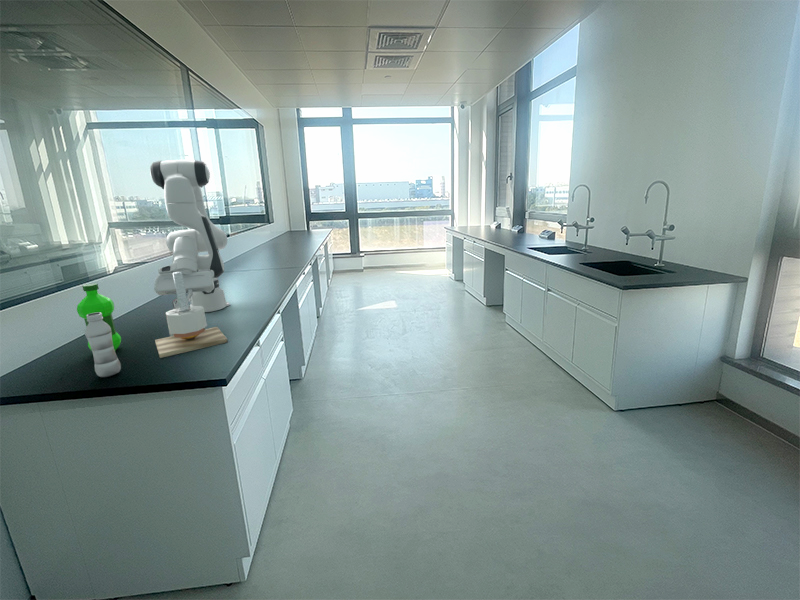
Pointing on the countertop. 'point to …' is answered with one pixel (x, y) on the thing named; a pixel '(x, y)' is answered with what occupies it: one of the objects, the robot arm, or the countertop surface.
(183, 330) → the sleeve
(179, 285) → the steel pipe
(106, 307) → the plastic bottle
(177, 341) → the oak base board
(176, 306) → the ink box
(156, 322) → the countertop surface
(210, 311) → the robot arm
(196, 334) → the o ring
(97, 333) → the plastic bottle
